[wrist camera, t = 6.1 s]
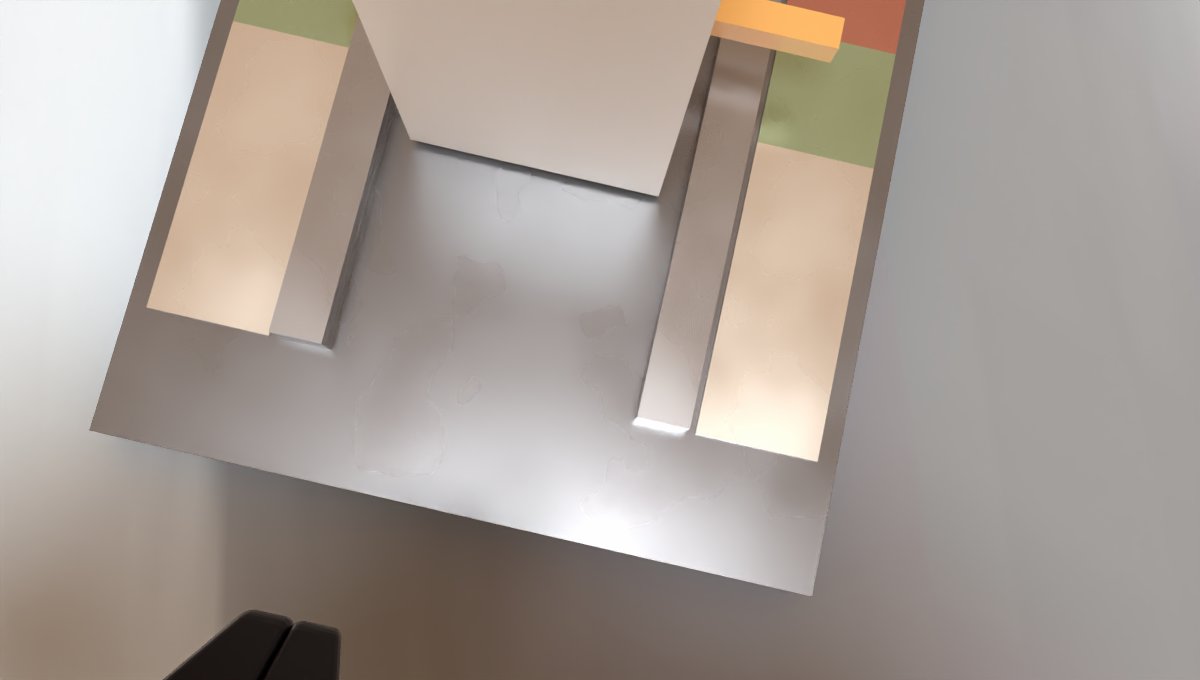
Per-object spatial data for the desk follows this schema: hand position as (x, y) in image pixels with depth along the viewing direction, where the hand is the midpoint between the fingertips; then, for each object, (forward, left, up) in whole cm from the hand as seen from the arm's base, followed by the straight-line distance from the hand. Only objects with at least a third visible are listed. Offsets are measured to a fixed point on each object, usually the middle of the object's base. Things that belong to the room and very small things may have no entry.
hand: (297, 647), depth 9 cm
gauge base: (+6, +8, -11) cm, 15 cm away
